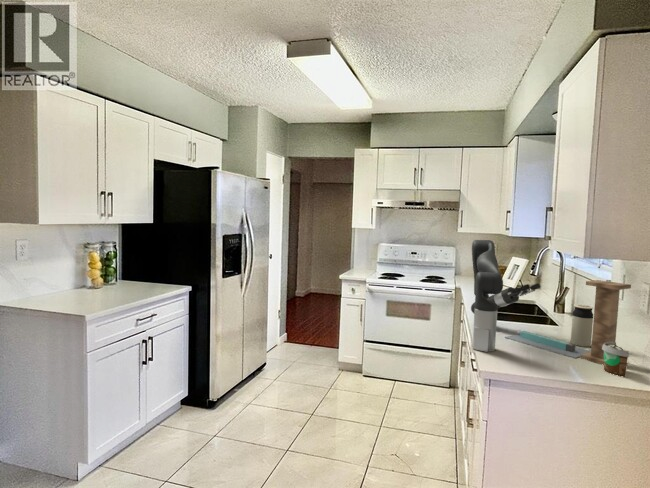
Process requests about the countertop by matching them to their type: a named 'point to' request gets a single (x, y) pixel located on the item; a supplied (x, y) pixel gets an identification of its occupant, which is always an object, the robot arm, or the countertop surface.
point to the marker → (548, 341)
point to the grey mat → (549, 347)
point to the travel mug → (582, 325)
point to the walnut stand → (604, 317)
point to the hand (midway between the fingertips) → (534, 285)
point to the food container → (615, 359)
